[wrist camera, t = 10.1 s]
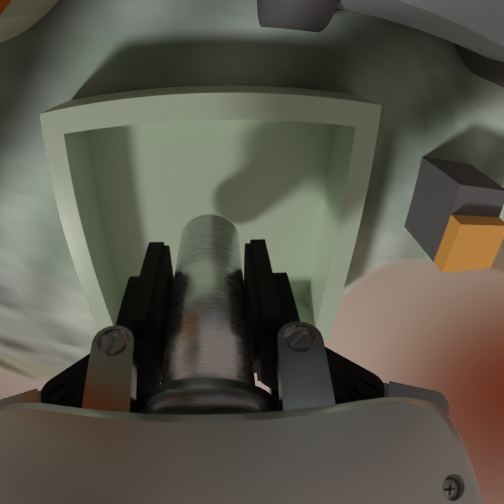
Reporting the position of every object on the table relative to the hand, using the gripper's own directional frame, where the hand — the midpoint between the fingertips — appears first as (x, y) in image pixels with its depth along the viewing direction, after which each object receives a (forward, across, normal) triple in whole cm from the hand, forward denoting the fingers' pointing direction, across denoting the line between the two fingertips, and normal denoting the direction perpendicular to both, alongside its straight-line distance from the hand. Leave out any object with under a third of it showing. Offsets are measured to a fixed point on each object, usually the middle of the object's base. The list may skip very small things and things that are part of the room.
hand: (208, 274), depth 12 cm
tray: (+5, 0, 0) cm, 5 cm away
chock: (+5, -13, -2) cm, 14 cm away
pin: (+2, 0, 0) cm, 2 cm away
